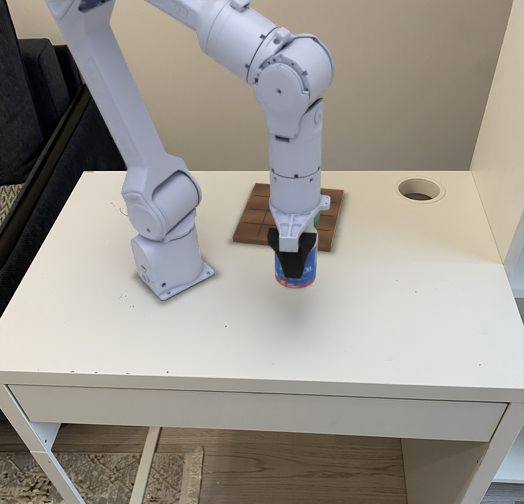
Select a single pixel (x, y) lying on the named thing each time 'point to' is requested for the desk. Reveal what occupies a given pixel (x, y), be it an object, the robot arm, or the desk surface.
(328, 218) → the board
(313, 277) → the pill bottle
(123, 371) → the desk surface
